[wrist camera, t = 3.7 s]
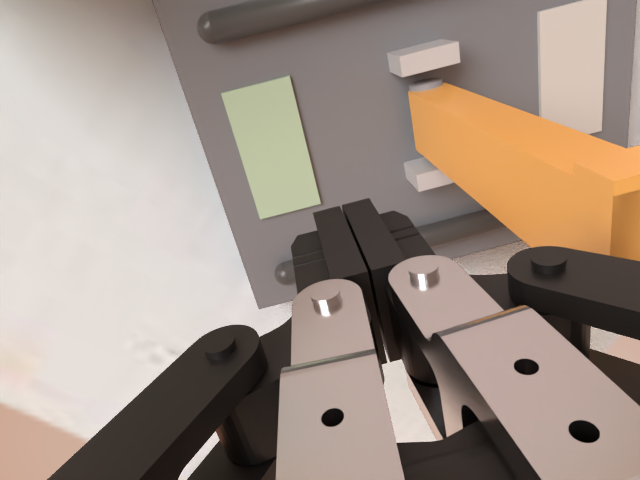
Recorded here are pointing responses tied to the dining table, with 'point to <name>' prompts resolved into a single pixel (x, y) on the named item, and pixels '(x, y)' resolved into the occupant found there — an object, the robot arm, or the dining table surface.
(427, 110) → the breaker lever
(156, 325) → the dining table surface
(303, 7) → the breaker panel
